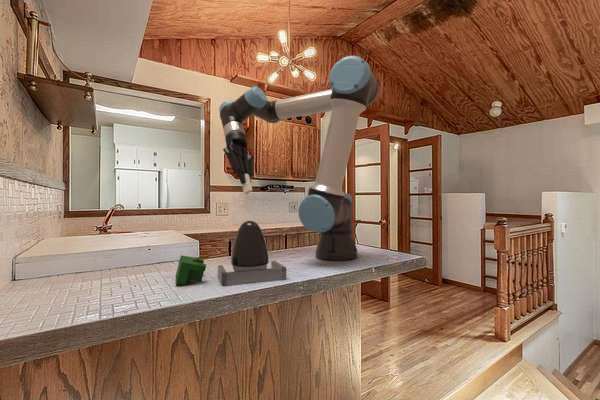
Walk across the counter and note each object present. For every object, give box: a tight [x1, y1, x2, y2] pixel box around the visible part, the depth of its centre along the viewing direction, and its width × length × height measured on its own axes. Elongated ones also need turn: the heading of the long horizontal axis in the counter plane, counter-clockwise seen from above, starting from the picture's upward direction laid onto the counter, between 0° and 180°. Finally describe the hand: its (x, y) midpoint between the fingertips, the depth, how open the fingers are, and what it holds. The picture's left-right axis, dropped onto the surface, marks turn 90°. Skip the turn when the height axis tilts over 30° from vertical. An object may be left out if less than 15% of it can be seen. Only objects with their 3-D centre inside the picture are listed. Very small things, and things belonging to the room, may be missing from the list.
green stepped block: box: [175, 254, 207, 286], centre depth 79 cm, size 12×6×9 cm, turn 17°
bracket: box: [217, 260, 287, 287], centre depth 80 cm, size 16×10×3 cm, turn 111°
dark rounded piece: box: [230, 220, 270, 272], centre depth 83 cm, size 10×10×15 cm
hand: (248, 192), depth 100 cm, fingers closed
